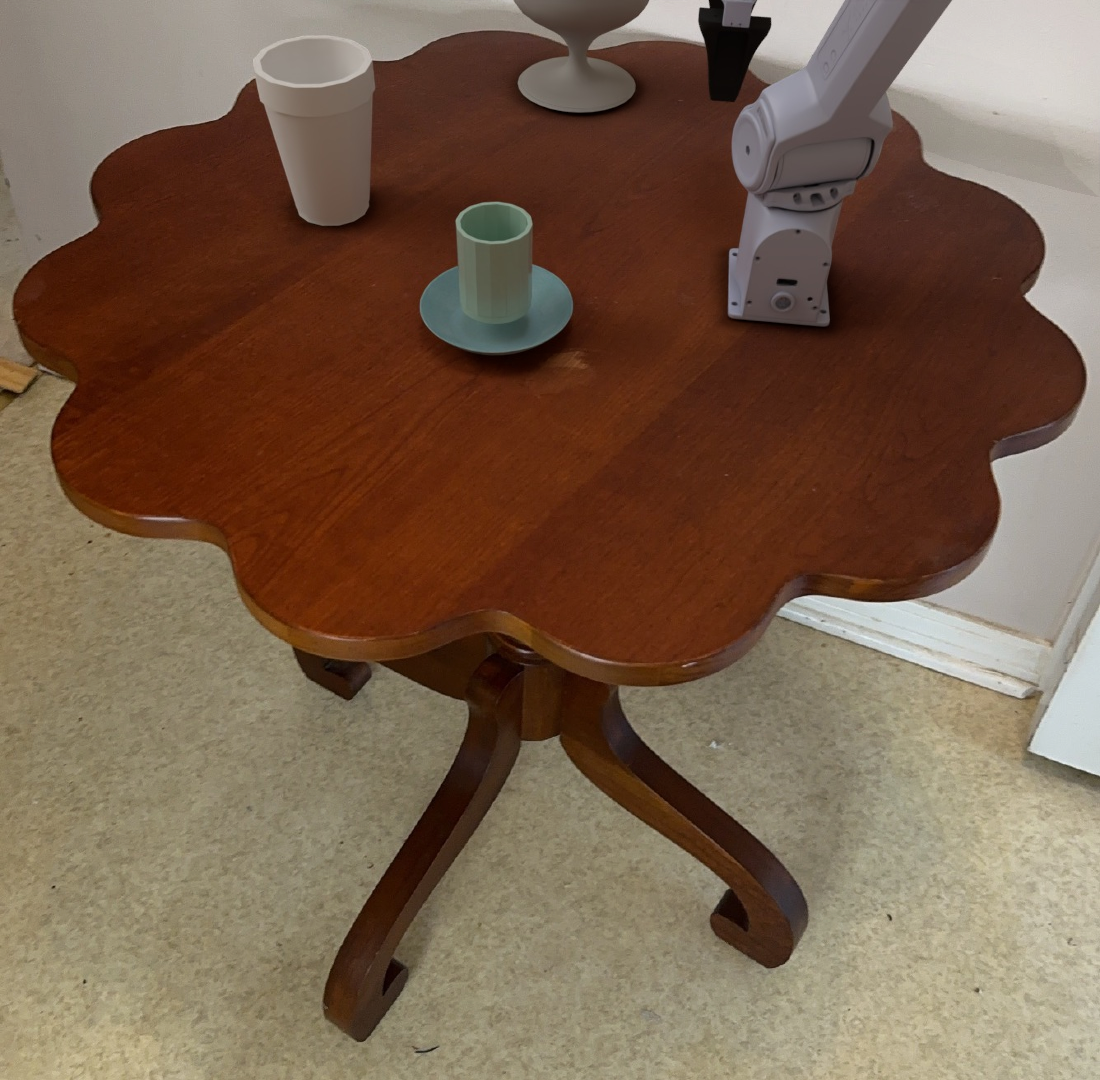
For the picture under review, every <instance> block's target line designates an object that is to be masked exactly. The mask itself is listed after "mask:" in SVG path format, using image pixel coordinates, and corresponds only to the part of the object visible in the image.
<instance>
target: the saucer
mask: <svg viewBox="0 0 1100 1080" xmlns="http://www.w3.org/2000/svg"><path fill="white" fill-rule="evenodd" d="M419 313H420V316H421V319H422V321H423V323H424V325H425V326H426V328H428V329H429V331H430V332H431V333H432V334H434V335H435V336H436V337H438V338H439V339H440V340H442V341H443V342H446V343H447V344H449V345H451V346H452V347H455V348H458V349H460V350H463V351H465V352H468V353H473V354H477V355H483V356H506V355H507V356H508V355H514V354H518V353H523V352H526V351H529V350H531V349H534V348H536V347H539V346H541V345H542V344H545V343H546V342H548V341H550V340H551V339H553V338H554V337H555V336H557V335H558V334H559V333H561V331H563V329H564V328H565V327H566V325H567V324H568V323H569V321H570V319H571V317H572V315H573V313H574V301H573V295H572V293H571V291H570V289H569V287H568V286H567V285H566V283H564V281H563V280H562V279H561V278H560V277H558V276H557V275H555V274H554V273H553V272H551V271H549V270H547V269H545V268H544V267H541V266H538V265H536V264H533V263H532V299H531V307H530V309H529V311H528V312H527V313H526V314H525V315H524V316H523V317H521V318H519V319H517V320H515V321H512V322H509V323H504V324H487V323H482V322H479V321H476V320H473V319H472V318H470V317H468V316H467V315H466V314H465V313H464V312H463V311H462V309H461V307H460V297H459V283H458V265H456V266H454V267H452V268H450V269H448V270H445V271H444V272H442V273H440V274H439V275H438V276H436V277H435V278H434V279H433V280H432V281H430V283H429V284H428V285H427V286H426V287H425V289H424V290H423V293H422V294H421V297H420V300H419Z"/></svg>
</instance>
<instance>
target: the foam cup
mask: <svg viewBox="0 0 1100 1080" xmlns="http://www.w3.org/2000/svg"><path fill="white" fill-rule="evenodd" d="M252 66H253V72H254V78H255V82H256V83H255V84H256V88H257V92H258V93H257V94H258V97H259V101H260V103H261V104H263V106H264V110H265V112H266V113H265V114H266V115H267V119H268V123H269V124H270V129H271V131H272V134H273V137H274V141H275V144H276V147H277V150H278V153H279V157H280V160H281V163H282V166H283V170H284V172H285V176H286V179H287V182H288V186H289V189H290V192H291V196H292V198H293V202H294V205H295V209H297V212H298V216H299V217H301V218H302V219H303V220H304V221H306V222H307V223H310V224H315V225H318V226H322V227H328V226H329V227H332V226H333V227H334V226H336V227H337V226H342V225H346V224H349V223H353V222H355V221H357V220H359V219H361V218H362V217H363V216H365V215H366V212H367V211H368V209H369V208H370V198H371V169H372V168H371V166H372V165H371V162H372V133H373V132H372V130H373V97H374V96H373V95H374V92H375V90H376V82H375V72H374V61H373V58H372V56H371V53H370V51H369V49H368V48H367V47H365V46H364V45H362V44H360V42H359V43H358V42H357V41H355V40H354V39H350V38H345V37H340V36H336V35H331V34H330V35H329V34H328V35H325V34H323V35H322V34H321V35H319V34H318V35H316V34H315V35H311V34H310V35H309V34H308V35H307V34H306V35H300V36H295V37H291V38H285V39H280V40H278V41H276V42H274V43H272V44H270V45H267V46H265V47H263V48H261V49H260V50H259V52H258V53H257V54H256V55H255V56H254V58H253V60H252Z"/></svg>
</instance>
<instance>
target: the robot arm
mask: <svg viewBox="0 0 1100 1080" xmlns="http://www.w3.org/2000/svg"><path fill="white" fill-rule="evenodd" d="M952 1H953V0H843V2H842V4H841V6H840V8H839V9H838V11H837V13H835V17H834V18H833V20H832V21H831V23H830V24H829V26H828V28H827V30H826V31H825V33H824V34H823V37H822V38H821V40H820V42H819V43H818V45H817V47H816V48H815V50H814V52H813V54H812V55H811V57H810V59H809V60H808V62H807V63H806V65H805V66H804V67H803V68H801V69H799V70H797V71H796V72H793V73H792V74H790V75H788V76H786V77H784V78H782V79H780V80H778V81H776V82H774V83H772V84H770V85H769V86H766V87H765V88H764V89H763V90H762V91H761V92H760V95H759V96H758V98H757V99H756V101H755V102H753V103H749V104H747V105H746V106H744V107H743V108H742V110H741V111H740V113H739V114H738V117H737V119H736V121H735V123H734V125H733V130H732V135H731V157H732V158H731V159H732V164H733V168H734V172H735V174H736V177H737V179H738V181H739V182H740V184H741V185H742V186H743V187H744V189H745V190H746V191H747V197H746V203H745V209H744V214H743V219H742V220H743V221H742V226H741V232H740V238H739V243H738V247H737V248H736V247H735V248H734V247H733V248H730V249H729V252H728V286H727V287H728V288H727V291H728V292H727V316H728V317H729V318H731V319H732V320H733V319H734V320H746V321H756V322H767V323H779V324H787V325H790V324H791V325H800V326H811V327H822V328H825V327H828V326H829V325H830V322H831V321H830V320H831V318H830V305H829V293H828V278H829V274H830V269H831V266H832V261H833V260H832V259H833V249H832V246H833V242H834V239H835V234H836V231H837V226H838V222H839V218H840V215H841V209H842V206H843V203H844V202H843V201H844V198H845V197H847V196H851V195H854V194H855V193H854V192H855V189H856V184H857V181H860V180H865V178H867V177H869V176H870V175H871V173H872V172H873V171H874V169H875V168H876V166H877V163H878V161H879V158H880V156H881V154H882V149H883V145H884V142H885V140H886V138H887V137H888V136H889V134H890V133H891V131H893V128H894V122H893V115H892V114H893V113H892V108H891V104H890V100H889V97H888V94H887V91H888V90H889V88H890V87H891V86H892V85H893V83H894V82H895V80H896V79H897V77H898V76H899V75H900V74H901V72H902V70H903V69H904V67H906V65H907V63H908V62H909V61H910V59H911V58H912V56H913V55H914V54H915V52H917V50H918V48H919V47H920V45H921V44H922V43H923V42H924V40H925V39H926V37H927V36H928V34H929V33H930V32H931V31H932V29H933V28H934V26H935V25H936V24H937V22H938V21H939V19H940V18H941V16H942V15H943V14H944V12H945V11H946V9H948V7H949V6H950V4H951V3H952ZM757 2H758V0H708V7H699V8H698V19H697V22H698V27H699V31H700V33H701V35H702V39H703V42H704V46H705V50H706V55H707V56H706V57H707V83H708V86H707V87H708V94H709V101H711V102H712V101H714V102H725V103H735V102H736V100H737V99H738V96H739V94H740V91H741V89H742V86H743V83H744V81H745V78H746V76H747V73H748V69H749V66H750V65H751V63H752V62H751V61H752V60H753V58H754V55H755V54H756V52H757V50H758V49H759V47H760V46H761V44H762V43H763V41H764V40H766V38H767V37H768V35H769V33H770V31H771V29H772V16H771V17H770V16H760V15H752V14H753V11H754V8H755V6H756V3H757Z"/></svg>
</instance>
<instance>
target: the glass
mask: <svg viewBox="0 0 1100 1080" xmlns="http://www.w3.org/2000/svg"><path fill="white" fill-rule="evenodd" d="M454 222H455V238H456V239H455V241H456V258H457V259H456V262H457V266H458V283H459V297H460V307H461V309H462V311H463V312H464V313H465V314H466V315H467V316H468V317H470V318H472V319H473V320H476V321H479V322H482V323H487V324H504V323H509V322H512V321H515V320H517V319H519V318H521V317H523V316H524V315H525V314H526V313H527V312H528V311H529V309H530V307H531V299H532V264H533V245H534V244H533V241H534V240H533V237H534V236H533V233H534V230H533V229H534V224H533V220H532V216H531V215H530V214H529V212H527V211H526V210H525V209H524V208H522V207H520V206H518V205H515V204H514V203H510V202H502V201H486V202H485V201H484V202H483V201H482V202H480V203H477V204H476V203H475V204H473V205H470V206H468V207H466V208H465V209H463V210H462V211H460V212H459V214H458V216H457V217H456V219H455V221H454Z"/></svg>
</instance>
